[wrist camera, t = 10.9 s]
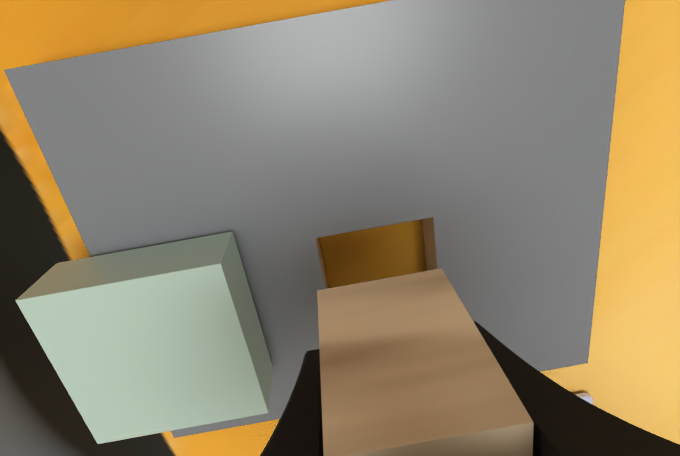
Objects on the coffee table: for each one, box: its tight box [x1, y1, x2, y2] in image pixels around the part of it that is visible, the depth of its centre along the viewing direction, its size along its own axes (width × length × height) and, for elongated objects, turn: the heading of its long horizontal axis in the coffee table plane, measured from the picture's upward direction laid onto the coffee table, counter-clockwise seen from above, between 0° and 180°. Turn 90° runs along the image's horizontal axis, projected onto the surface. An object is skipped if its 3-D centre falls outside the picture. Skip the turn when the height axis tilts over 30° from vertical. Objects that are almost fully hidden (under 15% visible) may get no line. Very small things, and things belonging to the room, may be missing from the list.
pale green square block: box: [16, 231, 273, 444], centre depth 19 cm, size 8×8×3 cm
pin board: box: [4, 0, 625, 438], centre depth 21 cm, size 20×24×2 cm
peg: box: [317, 268, 534, 456], centre depth 12 cm, size 4×4×6 cm
